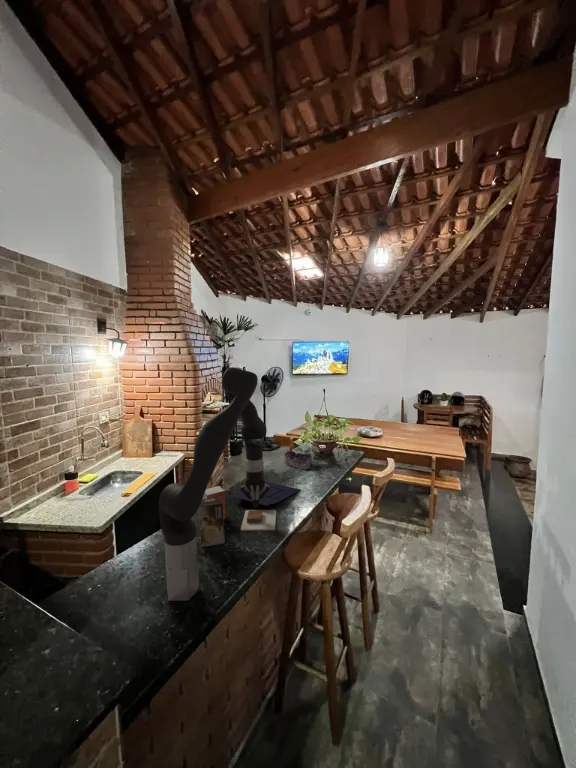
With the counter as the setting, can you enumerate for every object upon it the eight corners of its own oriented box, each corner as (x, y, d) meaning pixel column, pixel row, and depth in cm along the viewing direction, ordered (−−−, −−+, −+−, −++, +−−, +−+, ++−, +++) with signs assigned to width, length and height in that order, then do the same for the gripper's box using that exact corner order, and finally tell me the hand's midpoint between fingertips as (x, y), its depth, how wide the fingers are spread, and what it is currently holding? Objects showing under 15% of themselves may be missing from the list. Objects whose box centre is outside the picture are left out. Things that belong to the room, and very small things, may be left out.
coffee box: (223, 534, 132) (222, 496, 130) (225, 543, 125) (223, 503, 124) (200, 538, 129) (198, 499, 127) (200, 547, 123) (198, 506, 121)
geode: (279, 466, 208) (279, 450, 208) (288, 463, 218) (288, 448, 218) (307, 471, 197) (307, 454, 198) (316, 467, 207) (316, 451, 207)
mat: (274, 530, 134) (274, 528, 134) (240, 530, 134) (240, 529, 134) (276, 511, 150) (276, 509, 150) (245, 511, 150) (245, 510, 150)
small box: (208, 524, 139) (206, 495, 138) (203, 518, 145) (201, 489, 143) (225, 518, 144) (224, 490, 142) (220, 513, 149) (219, 485, 148)
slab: (248, 510, 146) (246, 518, 139) (262, 510, 146) (261, 518, 139) (248, 514, 146) (246, 523, 139) (262, 514, 146) (261, 522, 139)
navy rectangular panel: (227, 500, 158) (228, 493, 158) (263, 485, 184) (263, 479, 184) (269, 512, 146) (270, 504, 146) (301, 494, 172) (301, 487, 172)
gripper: (270, 465, 143) (271, 502, 145) (240, 465, 143) (241, 503, 145) (269, 471, 136) (270, 511, 138) (237, 471, 136) (239, 511, 138)
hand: (255, 507), depth 142 cm, fingers closed
